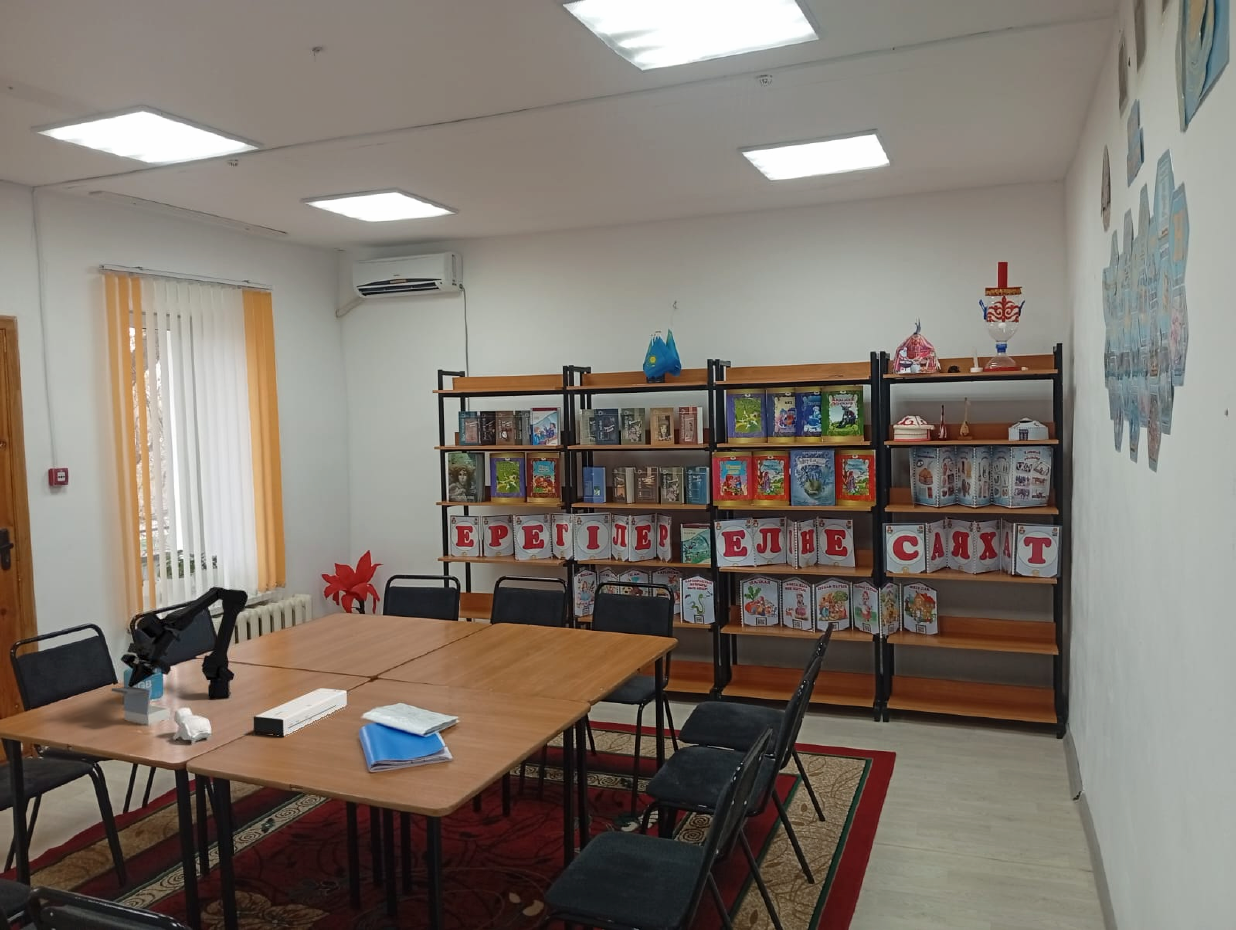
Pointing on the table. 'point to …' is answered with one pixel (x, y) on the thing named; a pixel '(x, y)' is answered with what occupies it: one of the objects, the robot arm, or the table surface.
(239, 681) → the table surface
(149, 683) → the data package
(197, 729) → the white animal figurine
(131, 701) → the carton lid
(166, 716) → the carton
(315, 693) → the laminator
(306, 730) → the table surface
